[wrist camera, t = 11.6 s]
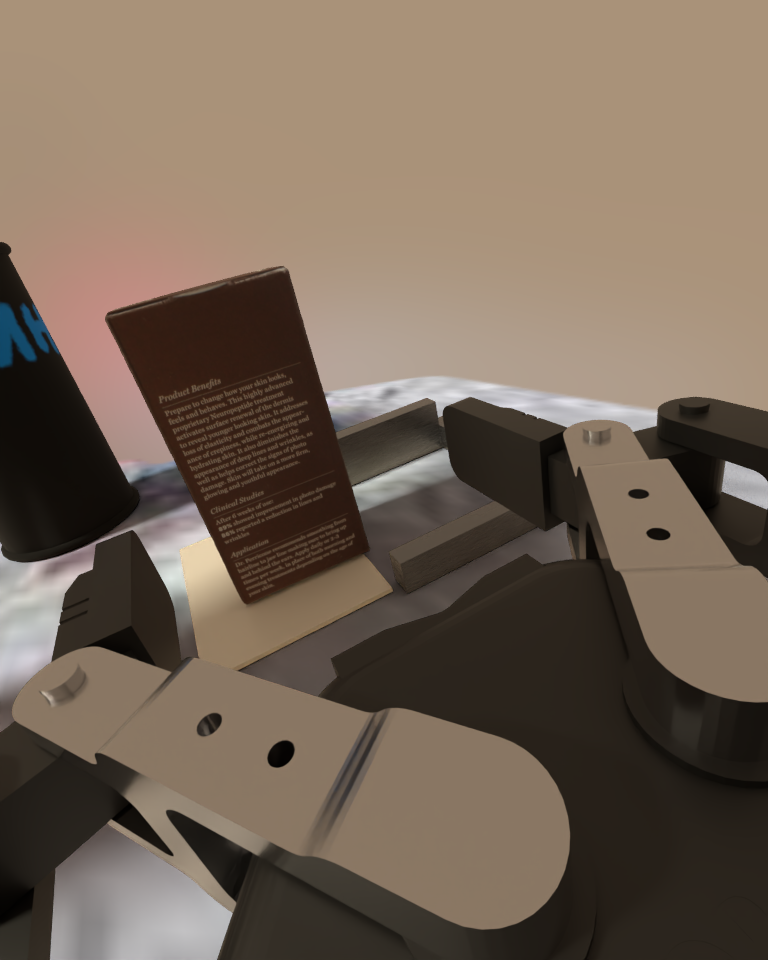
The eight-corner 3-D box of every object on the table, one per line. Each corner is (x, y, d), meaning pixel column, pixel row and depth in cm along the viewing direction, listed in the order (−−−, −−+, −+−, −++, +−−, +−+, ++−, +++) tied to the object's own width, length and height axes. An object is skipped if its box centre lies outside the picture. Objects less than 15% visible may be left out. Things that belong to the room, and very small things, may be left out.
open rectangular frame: (407, 593, 19) (392, 532, 18) (318, 491, 28) (303, 444, 27) (580, 504, 22) (579, 444, 20) (447, 437, 31) (440, 392, 30)
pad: (205, 686, 17) (203, 683, 17) (181, 552, 25) (179, 549, 25) (393, 591, 19) (392, 587, 19) (314, 496, 28) (313, 493, 28)
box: (341, 511, 25) (267, 264, 20) (373, 554, 21) (293, 263, 16) (227, 557, 24) (112, 304, 18) (240, 612, 20) (99, 313, 14)
